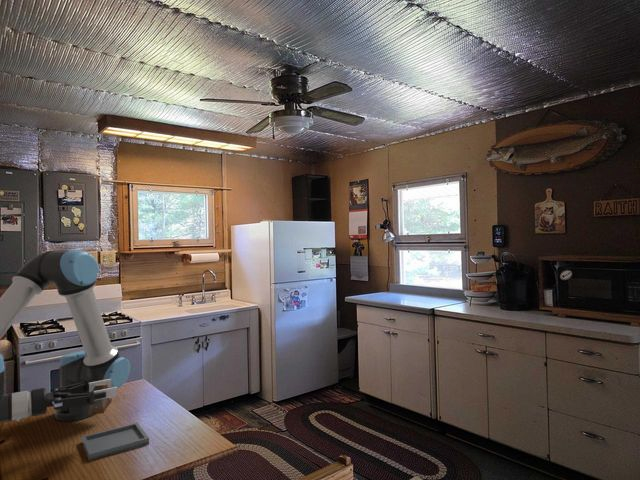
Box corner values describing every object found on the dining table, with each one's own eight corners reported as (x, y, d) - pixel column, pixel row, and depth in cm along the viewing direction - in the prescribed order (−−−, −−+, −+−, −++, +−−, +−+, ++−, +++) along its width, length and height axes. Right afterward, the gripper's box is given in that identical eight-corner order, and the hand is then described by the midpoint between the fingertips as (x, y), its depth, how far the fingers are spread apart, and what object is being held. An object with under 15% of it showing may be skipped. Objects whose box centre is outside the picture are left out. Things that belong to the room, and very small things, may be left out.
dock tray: (81, 442, 139) (81, 436, 139) (137, 428, 149) (137, 422, 149) (89, 461, 127) (89, 454, 127) (149, 444, 137) (149, 437, 137)
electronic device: (112, 402, 142) (111, 379, 142) (104, 413, 132) (103, 389, 132) (97, 403, 141) (97, 380, 141) (88, 415, 131) (88, 390, 131)
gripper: (29, 405, 135) (108, 389, 148) (31, 429, 117) (121, 409, 130) (28, 381, 135) (107, 367, 148) (31, 401, 117) (120, 384, 130)
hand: (114, 387), depth 139 cm, fingers closed on electronic device, 9 cm apart
